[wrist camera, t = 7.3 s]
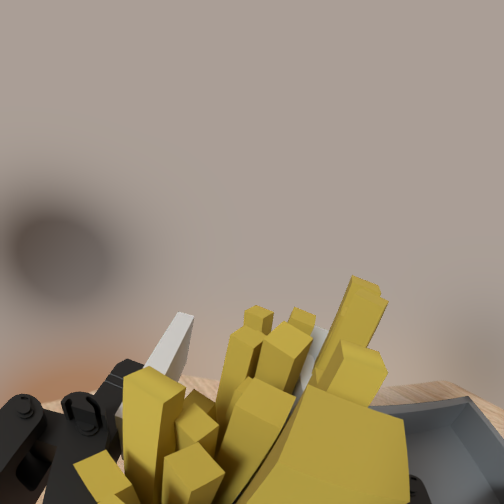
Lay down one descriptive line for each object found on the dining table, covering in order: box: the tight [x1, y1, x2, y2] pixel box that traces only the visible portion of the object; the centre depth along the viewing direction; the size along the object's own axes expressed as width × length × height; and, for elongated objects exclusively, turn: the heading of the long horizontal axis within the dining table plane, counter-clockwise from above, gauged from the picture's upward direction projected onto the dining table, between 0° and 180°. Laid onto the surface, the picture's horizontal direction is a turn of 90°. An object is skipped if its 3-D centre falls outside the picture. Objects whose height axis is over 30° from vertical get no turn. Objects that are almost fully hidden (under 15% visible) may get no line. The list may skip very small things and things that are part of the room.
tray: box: [368, 396, 504, 504], centre depth 13 cm, size 20×18×5 cm
